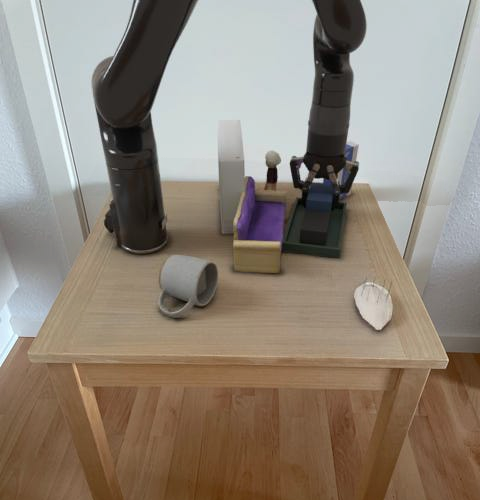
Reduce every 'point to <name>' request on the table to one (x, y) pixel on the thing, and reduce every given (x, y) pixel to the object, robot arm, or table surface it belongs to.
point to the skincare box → (230, 171)
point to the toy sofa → (259, 229)
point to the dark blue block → (320, 197)
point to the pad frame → (294, 246)
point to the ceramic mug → (187, 282)
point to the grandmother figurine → (272, 170)
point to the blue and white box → (350, 156)
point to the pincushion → (374, 304)
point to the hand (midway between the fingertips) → (319, 207)
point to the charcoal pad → (315, 227)
